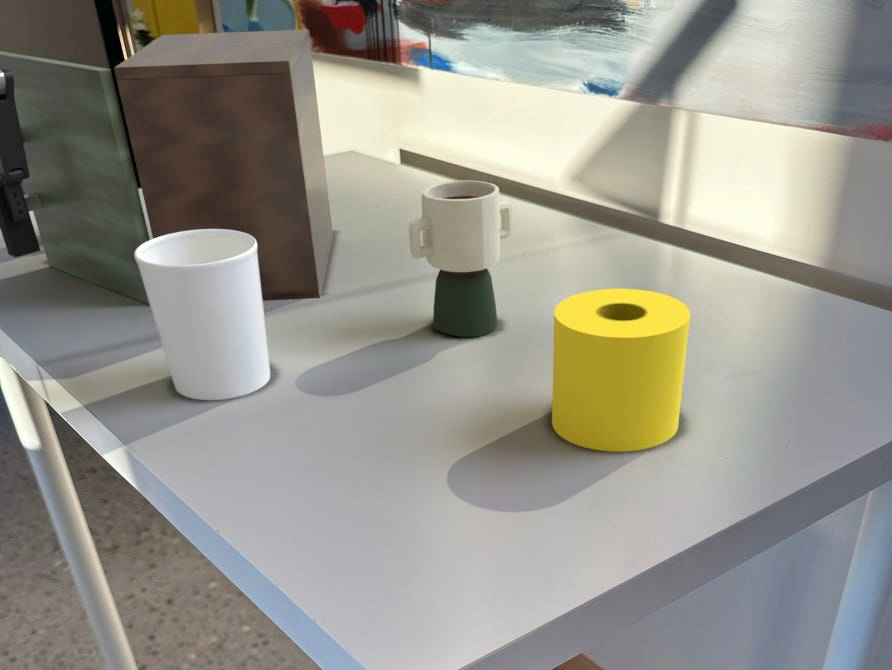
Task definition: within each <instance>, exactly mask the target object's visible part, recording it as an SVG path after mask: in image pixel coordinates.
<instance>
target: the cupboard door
mask: <svg viewBox="0 0 892 670" xmlns="http://www.w3.org/2000/svg"><path fill="white" fill-rule="evenodd" d="M5 68H9V69H10V71H11V72H12V74H13V77H14V99H15V104H16V109H17V114H18V119H19V124H20V129H21V134H22V140H23V145H24V150H25V155H26V160H27V165H28V170H29V178H28V179H24V180H23V183H24V185H25V189H26V194H23V195H24V198H25V201H26V205H27V208H28V211H29V212H32V213H33V216H34V219H35V222H36V225H37V230H38V233H39V236H40V240H41V243H42V246H43V249H44V253H45V256H46V259H47V262H48V266H49V267H51V268H53V269H56V270H58V271H61V272H64V273H66V274H69V275H72V276H74V277H76V278H79V279H81V280H85V281H86V282H90V283H92V284H95V285H98V286H99V287H103V288H105V289H107V290H110V291H113V292H116V293H118V294H121V295H123V296H125V297H128V298H131V299H133V300H136V301H139V302H141V303H143V304H146V305H148V306H150V304H149V301H148V297H147V294H146V291H145V287H144V284H143V281H142V277H141V274H140V271H139V268H138V265H137V262H136V260H135V257H134V252H135V250H136V249H137V248H138V247H139V246H140V245H141V244H143V243H145V242H147V241H149V240H151V239H150V238H151V237H150V235H149V231H148V226H147V222H146V221H147V220H146V217H145V213H144V209H143V205H142V200H141V195H140V192H139V187H138V183H137V179H136V174H135V170H134V165H133V161H132V157H131V152H130V149H129V143H128V140H127V135H126V131H125V126H124V123H123V118H122V113H121V110H120V109H121V108H120V105H119V101H118V95H117V92H116V88H115V87H116V86H115V83H114V80H113V75H112V74H113V73H112V71H111V69H110V68H106V67H100V66H94V65H88V64H87V65H86V64H83V63H82V64H80V63H76V62H75V63H74V62H69V61H63V60H56V59H51V58H50V59H49V58H43V57H37V56H33V55H32V56H31V55H26V54H25V55H24V54H19V53H13V52H8V51H2V50H0V69H5Z"/></svg>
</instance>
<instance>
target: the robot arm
mask: <svg viewBox="0 0 892 670" xmlns="http://www.w3.org/2000/svg"><path fill="white" fill-rule="evenodd" d="M28 178H29V170H28V165H27V160H26V155H25V150H24V145H23V140H22V134H21V129H20V124H19V119H18V114H17V109H16V104H15V99H14V77H13V74H12V72H11V71H10V69H9V68H5V69H0V232H1V235H2V238H3V242H4V244H5V248H6V250H7V253H8V255H9V256H11V257H13V258H19V257H23V256H26V255H30V254H34V253H36V252H41V247H40V244H39V240H38V238H37V237H38V236H37V234H36V231H35V227H34V224H33V221H32V218H31V214H30V211H28V208H27V205H26V201H25V198H24V195H25V194H24V191H23V188H22V185H21V184H22V183H23V181H24V179H28Z"/></svg>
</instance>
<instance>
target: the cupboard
mask: <svg viewBox="0 0 892 670" xmlns="http://www.w3.org/2000/svg"><path fill="white" fill-rule="evenodd" d="M313 63H314V62H313V55H312V46H311V37H310V29H306V28H305V29H285V30H283V29H281V30H258V31H257V30H255V31H232V32H230V31H229V32H205V33H182V34H181V33H180V34H179V33H178V34H162V35H160V36H159V37H157V38H155V39H154V40H153V41H151V42H149V43H148V44H147V45H146V46H144V47H143V48H141V49H140V50H138V51H137V52H135V53H133V54H132V55H130V56H129V57H128V58H127V59H125V60H124V61H121V62H120V63H119V64H117V65H116V66H115V67H113V69H114V75H115V79H116V84H117V88H118V91H119V96H120V100H121V106H122V110H123V113H124V118H125V123H126V127H127V131H128V136H129V139H130V144H131V149H132V153H133V157H134V161H135V165H136V166H135V167H136V170H137V176H138V178H139V183H140V187H141V192H142V196H143V200H144V205H145V209H146V213H147V219H148V222H149V227H150V231H151V235H152V239H154V238H157V237H160V236H163V235H167V234H172V233H176V232H182V231H189V230H200V229H227V230H235V231H240V232H244V233H247V234H249V235H251V236H253V237H254V238H255V239H256V241H257V245H258V248H257V252H258V263H259V272H260V281H261V290H262V299H263V302H264V301H285V300H287V301H288V300H307V299H321V296H322V291H323V286H324V282H325V277H326V274H327V273H326V272H327V268H328V264H329V258H330V253H331V248H332V245H333V239H334V235H333V227H332V226H333V225H332V217H331V208H330V200H329V191H328V184H327V182H328V181H327V175H326V166H325V164H326V163H325V156H324V148H323V140H322V131H321V122H320V113H319V105H318V97H317V88H316V81H315V80H316V79H315V72H314V64H313Z"/></svg>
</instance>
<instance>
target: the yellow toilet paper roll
mask: <svg viewBox="0 0 892 670" xmlns="http://www.w3.org/2000/svg"><path fill="white" fill-rule="evenodd" d="M690 321H691V310H690V309H689V307H688V306H687V304H685V303H684V302H683V301H681V300H679V299H677V298H675V297H672V296H671V295H667V294H664V293H661V292H656V291H651V290H645V289H636V288H604V289H596V290H590V291H584V292H580V293H577V294H573V295H570V296H568V297H566V298H565V299H562V300H561V301H560V302H559V303H558V304H556V306H555V308H554V311H553V354H552V355H553V356H552V359H553V360H552V364H553V365H552V401H551V403H552V404H551V406H552V407H551V411H552V412H551V424H552V428H553V430H554V431H555V432H556V434H557V435H558V436H560V437H561V438H562V439H564V440H565V441H567V442H569V443H571V444H574V445H576V446H579V447H582V448H585V449H586V448H587V449H590V450H595V451H600V452H601V451H602V452H616V453H617V452H618V453H619V452H620V453H621V452H635V451H641V450H646V449H651V448H654V447H656V446H657V447H658V446H659V445H662V444H664V443H665V442H667V441H669V440H670V439H671V438H673V437H674V436H675V434H676V433H677V431H678V428H679V423H680V422H679V420H680V412H681V405H682V394H683V386H684V385H683V384H684V376H685V366H686V357H687V347H688V340H689V339H688V338H689V332H690V329H689V328H690Z"/></svg>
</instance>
